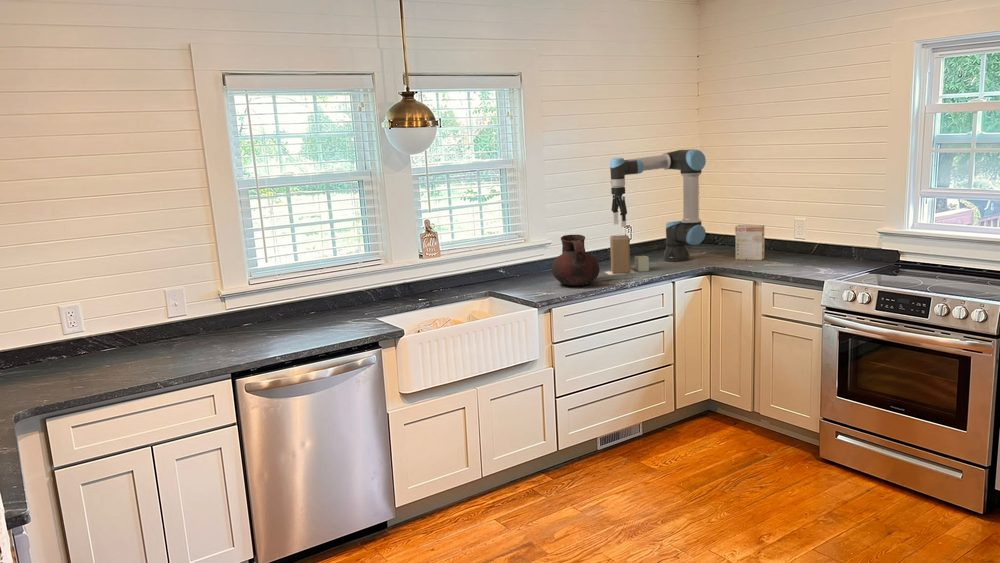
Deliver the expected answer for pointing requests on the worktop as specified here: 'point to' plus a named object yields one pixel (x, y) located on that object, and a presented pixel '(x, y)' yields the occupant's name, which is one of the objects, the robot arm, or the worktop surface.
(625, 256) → the wooden block
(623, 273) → the letter
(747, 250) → the coffeecake box
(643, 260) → the sage block
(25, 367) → the worktop surface
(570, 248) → the jug
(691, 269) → the worktop surface
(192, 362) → the worktop surface
